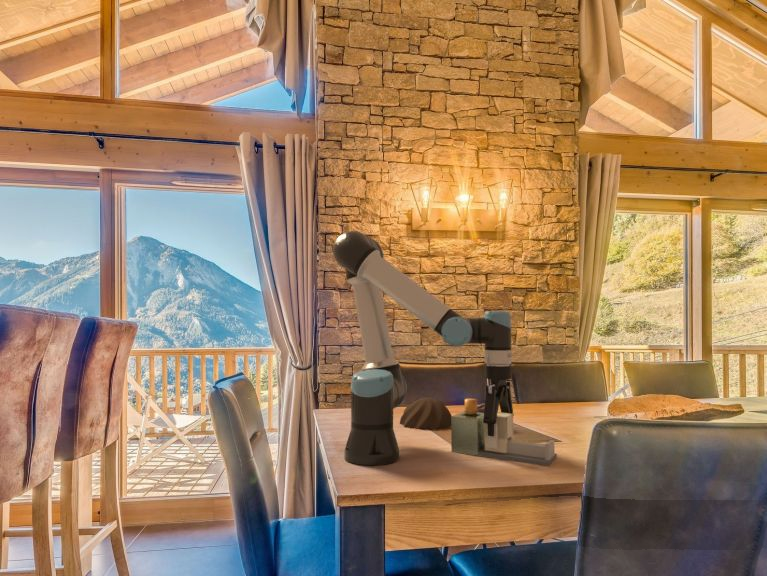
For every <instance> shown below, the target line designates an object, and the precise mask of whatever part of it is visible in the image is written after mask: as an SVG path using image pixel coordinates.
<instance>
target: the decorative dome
mask: <svg viewBox="0 0 767 576" xmlns="http://www.w3.org/2000/svg"><path fill="white" fill-rule="evenodd" d="M451 416H453V415H452V414H451V412H450V410H449V409H448V407H447V406H446V405H445V404H444V403H443V402H441V401H440V400H438V399H436V398H433V397H429V396H428V397H422V398H418V399H416V400H415V401H412V402H411V403H410V404H408V405H407V406H406V408H405V409H404V410H403V413H402V415H401V417H400V421H399V425H402V426H403V428H407V427H410V428H409V429H414V428H415V429H414V430H417V429H422V430H429V429H434V430H433V431H436V430H435V429H438V430H440V429H441V428H443V429H451Z"/></svg>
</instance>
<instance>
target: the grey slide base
mask: <svg viewBox="0 0 767 576" xmlns="http://www.w3.org/2000/svg"><path fill="white" fill-rule="evenodd" d="M507 441H508V452H507V453H500V452H493V451H486V450H485V448H484V449H482V450H480V451H478V456H479V457H486V458H492V459H496V460H497V459H498V460H505V461H510V460H511V461H513V462H517V463H526V464H529V465H530V464H531V465H536V464H537V465H538V466H543V465H544V467H548V466H549V465H550V464H551V463H552V462H553V461H555V460H556V458H557V453H555V440H554V439H550V440H548V441H547V442H546V443H539V442H532V441H525V440H524V441H523V440H518V439H517V440H516V439H513V440H509V439H507ZM511 461H510V462H511Z"/></svg>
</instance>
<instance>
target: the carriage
mask: <svg viewBox="0 0 767 576" xmlns="http://www.w3.org/2000/svg"><path fill="white" fill-rule="evenodd" d="M513 414H514V413H513ZM513 414H512V413H502V412H501V411H498V413H497V418H496V424H497V444H498V448H497V449H496V448H489V447H487V423H485V450H486V451H493V452H500V453H507V452H508V441H507V439H509V440H514V416H513Z"/></svg>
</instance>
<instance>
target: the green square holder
mask: <svg viewBox="0 0 767 576" xmlns="http://www.w3.org/2000/svg"><path fill="white" fill-rule="evenodd" d="M483 419H484V413H478V412H477V414H474V415H468V414H465V410H464V411H462V412H459V413H455V414H453V415H452V416H451V426H450V433H451V438H450V440H451V442H450V443H451V446H450V447H451V453H452V452H453V453H458V452H459V454H464V453H465V454H466V455H472V456H477V455H478V451H480V450H482V449H484V448H485V423H483Z"/></svg>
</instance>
